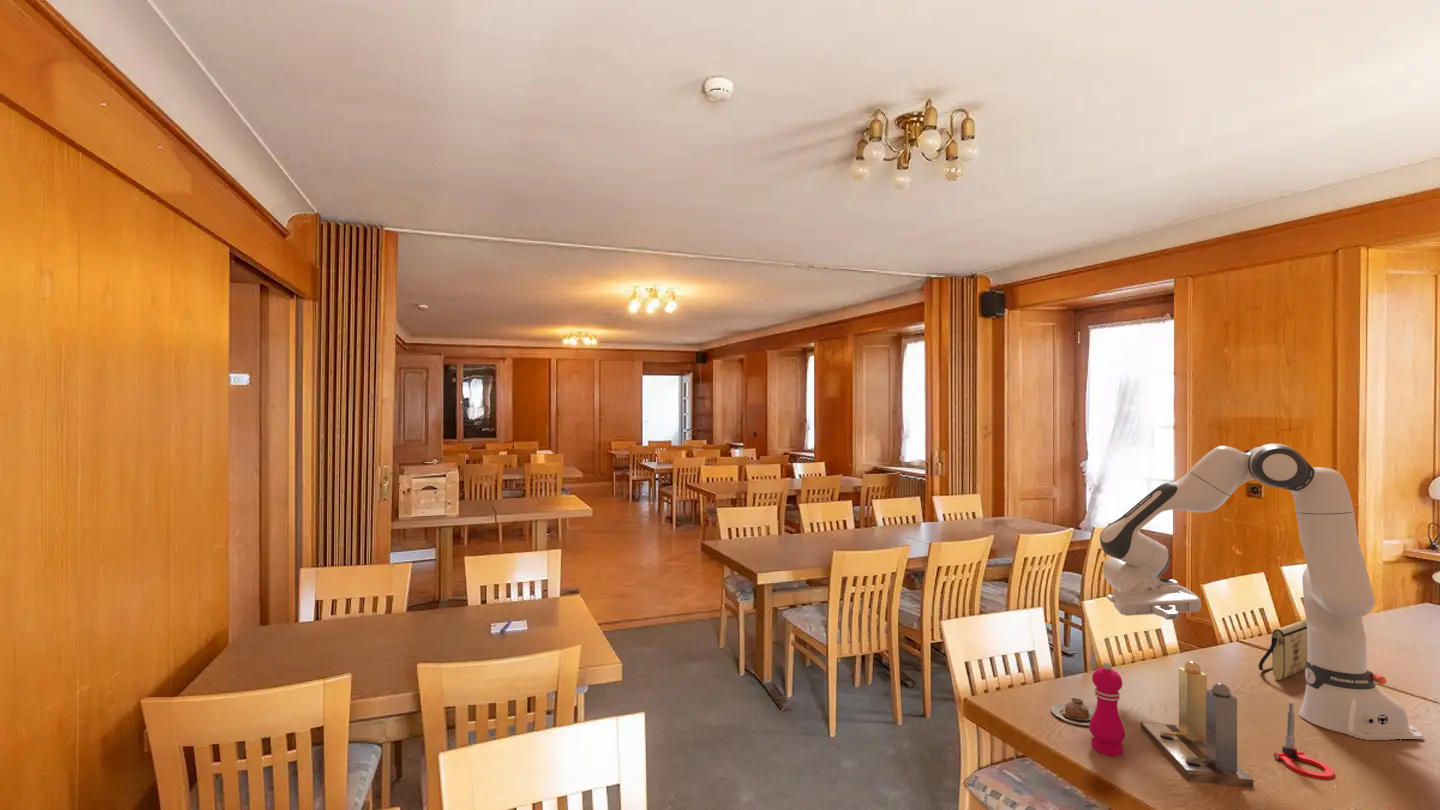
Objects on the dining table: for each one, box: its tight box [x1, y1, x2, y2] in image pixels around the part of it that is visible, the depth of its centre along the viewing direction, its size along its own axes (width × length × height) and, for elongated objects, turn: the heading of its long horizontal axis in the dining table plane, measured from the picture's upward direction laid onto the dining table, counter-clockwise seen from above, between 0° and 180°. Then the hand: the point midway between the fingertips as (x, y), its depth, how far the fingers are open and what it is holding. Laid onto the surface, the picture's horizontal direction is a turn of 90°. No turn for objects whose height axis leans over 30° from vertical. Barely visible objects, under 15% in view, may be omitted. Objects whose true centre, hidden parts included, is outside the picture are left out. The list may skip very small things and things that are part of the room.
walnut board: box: [1139, 721, 1255, 788], centre depth 152 cm, size 12×24×2 cm, turn 169°
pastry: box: [1051, 697, 1096, 726], centre depth 171 cm, size 12×12×5 cm
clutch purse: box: [1258, 618, 1307, 681], centre depth 204 cm, size 30×7×15 cm, turn 120°
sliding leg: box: [1161, 660, 1208, 741], centre depth 156 cm, size 8×4×17 cm, turn 79°
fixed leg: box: [1186, 682, 1238, 773], centre depth 145 cm, size 8×4×18 cm, turn 79°
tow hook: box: [1273, 701, 1336, 780], centre depth 147 cm, size 8×13×9 cm
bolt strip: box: [1142, 722, 1233, 775], centre depth 153 cm, size 9×22×1 cm, turn 169°
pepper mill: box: [1089, 661, 1126, 757], centre depth 155 cm, size 7×7×20 cm
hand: (1173, 616), depth 172 cm, fingers closed
